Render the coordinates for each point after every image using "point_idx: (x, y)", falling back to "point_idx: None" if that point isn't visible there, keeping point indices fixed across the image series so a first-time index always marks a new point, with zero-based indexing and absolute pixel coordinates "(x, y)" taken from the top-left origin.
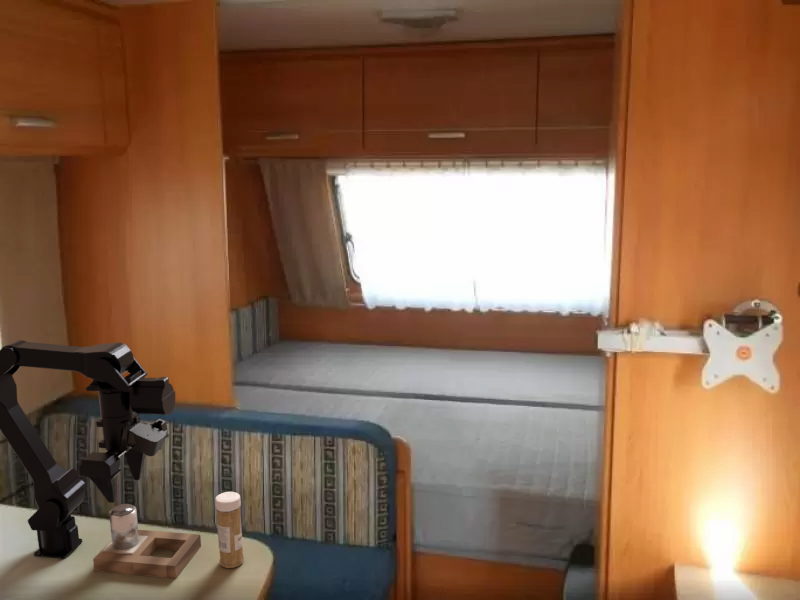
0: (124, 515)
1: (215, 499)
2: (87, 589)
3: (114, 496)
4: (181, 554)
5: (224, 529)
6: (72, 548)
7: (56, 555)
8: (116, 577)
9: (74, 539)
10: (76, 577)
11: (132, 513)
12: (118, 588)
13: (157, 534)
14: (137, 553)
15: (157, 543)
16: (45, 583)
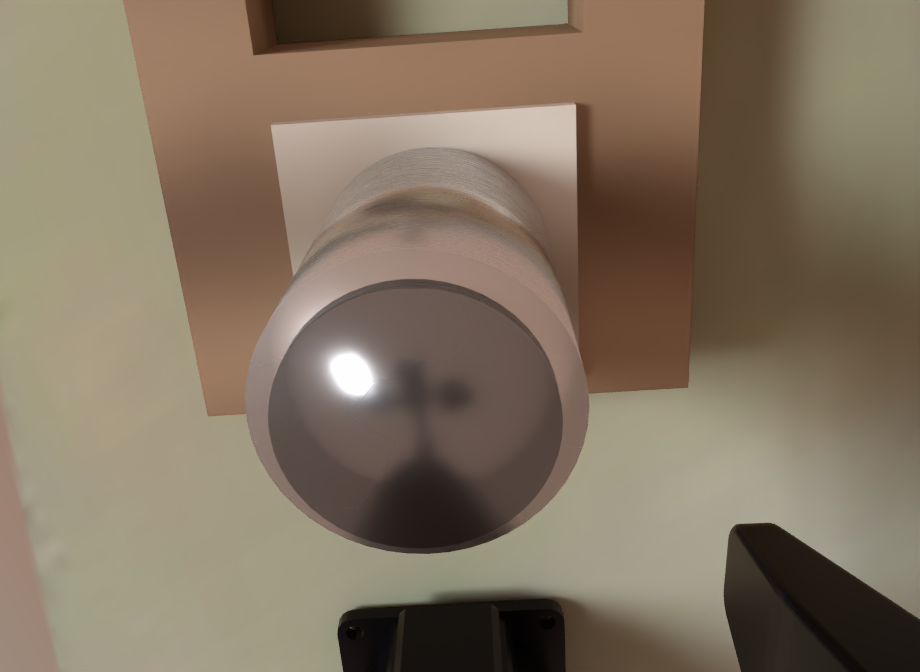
0: (529, 326)
1: None
2: (889, 259)
3: (808, 578)
4: None
5: None
6: (490, 611)
7: (560, 654)
8: (723, 139)
9: (456, 648)
10: (749, 412)
11: (456, 252)
12: (870, 33)
13: (196, 63)
14: (553, 66)
15: (263, 29)
16: (830, 546)
